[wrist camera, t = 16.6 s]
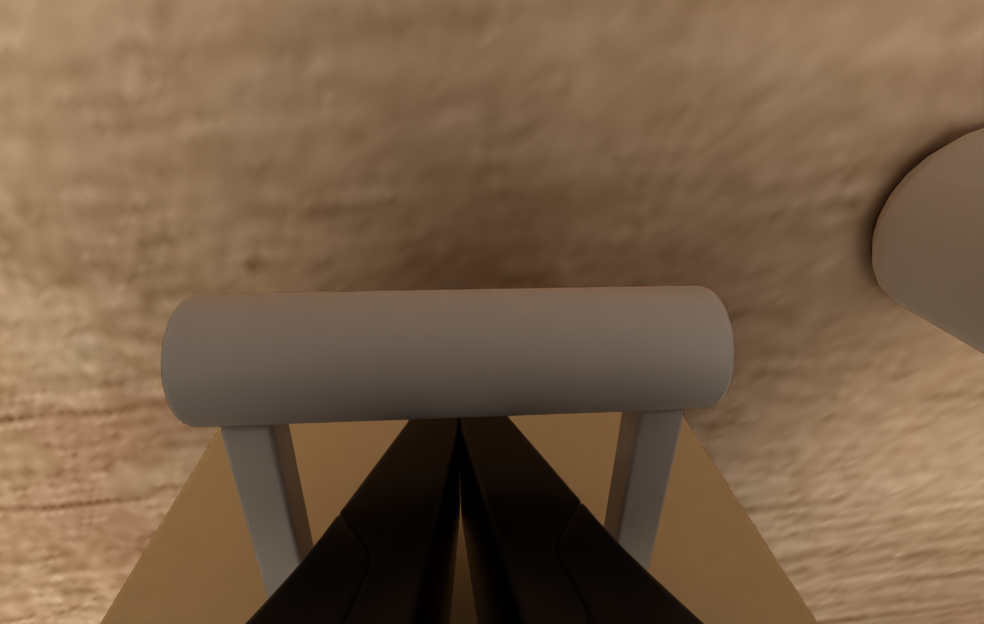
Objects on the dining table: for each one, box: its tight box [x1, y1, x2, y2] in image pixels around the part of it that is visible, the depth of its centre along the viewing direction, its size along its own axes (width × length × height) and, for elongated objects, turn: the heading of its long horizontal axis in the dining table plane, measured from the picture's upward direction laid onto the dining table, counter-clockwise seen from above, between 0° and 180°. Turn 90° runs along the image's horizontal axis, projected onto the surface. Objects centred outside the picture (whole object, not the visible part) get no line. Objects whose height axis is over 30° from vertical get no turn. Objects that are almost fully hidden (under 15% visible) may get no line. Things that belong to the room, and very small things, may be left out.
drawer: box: [100, 285, 818, 624], centre depth 11 cm, size 16×10×7 cm
